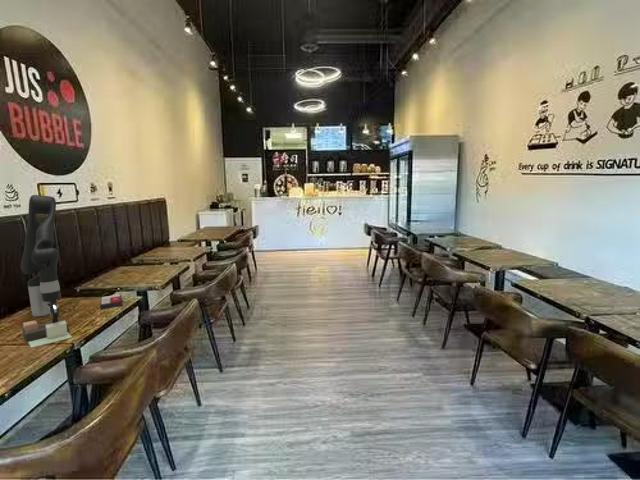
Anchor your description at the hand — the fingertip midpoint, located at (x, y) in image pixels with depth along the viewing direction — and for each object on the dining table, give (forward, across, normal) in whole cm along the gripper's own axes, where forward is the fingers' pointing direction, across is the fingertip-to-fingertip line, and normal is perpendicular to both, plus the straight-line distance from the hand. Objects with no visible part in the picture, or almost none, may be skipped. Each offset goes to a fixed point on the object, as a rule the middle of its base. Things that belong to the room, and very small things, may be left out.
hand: (55, 324), depth 194 cm
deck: (+5, +6, +4) cm, 9 cm away
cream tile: (+1, -1, 0) cm, 2 cm away
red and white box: (+6, +34, -34) cm, 48 cm away
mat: (+5, -5, +4) cm, 8 cm away
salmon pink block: (+1, +7, +9) cm, 12 cm away
